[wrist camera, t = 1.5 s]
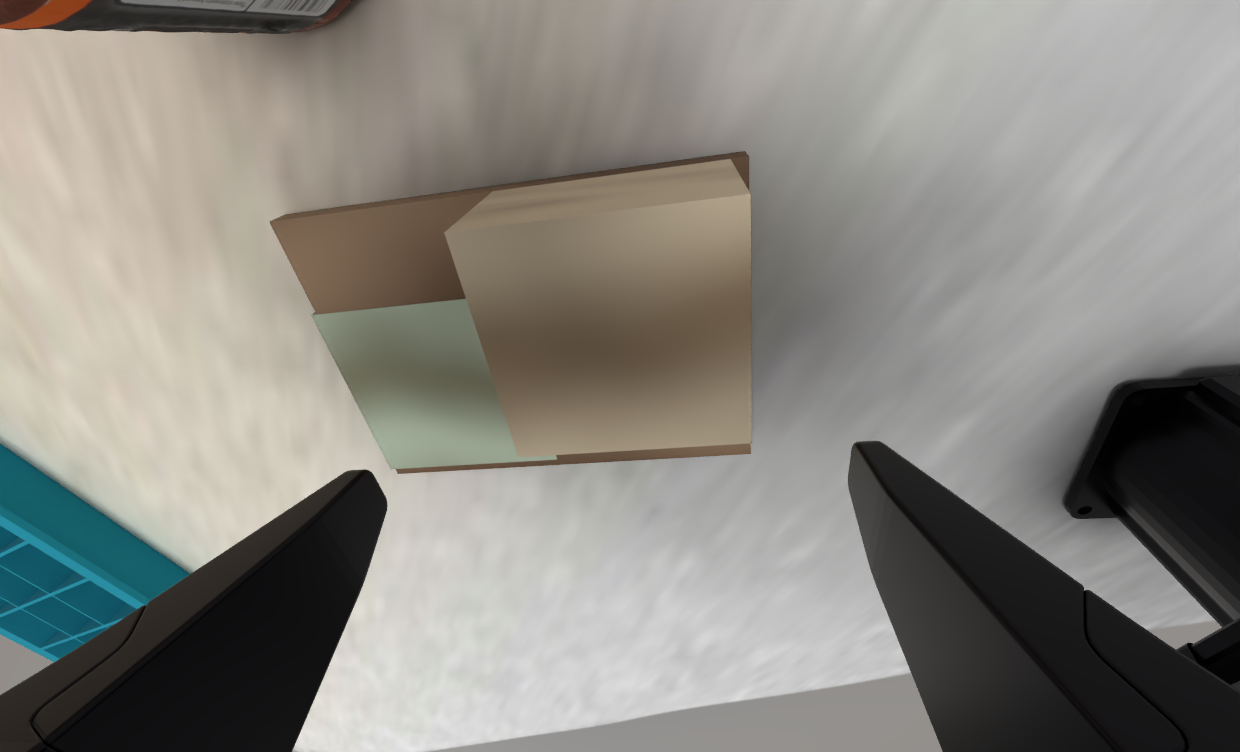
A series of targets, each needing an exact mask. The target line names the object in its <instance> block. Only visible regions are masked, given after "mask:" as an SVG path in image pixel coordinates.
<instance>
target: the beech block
mask: <svg viewBox="0 0 1240 752" xmlns="http://www.w3.org/2000/svg"><path fill="white" fill-rule="evenodd" d="M444 234H445V237H446V240H447V243H448V246H449V249H450V252H451V255H452V258H453V261H454V264H455V267H456V270H457V273H458V276H459V279H460V282H461V285H462V288H463V291H464V294H465V297H466V300H467V303H468V306H469V309H470V312H471V315H472V318H473V321H474V324H475V327H476V330H477V333H478V336H479V339H480V342H481V345H482V348H483V352H484V355H485V358H486V361H487V364H488V367H489V370H490V373H491V376H492V379H493V382H494V385H495V388H496V391H497V394H498V397H499V400H500V403H501V406H502V409H503V412H504V415H505V418H506V421H507V424H508V427H509V430H510V433H511V436H512V439H513V442H514V445H515V448H516V451H517V454H518V457H532V456H548V455H565V454H582V453H599V452H615V451H632V450H649V449H666V448H683V447H699V446H716V445H733V444H750V443H752V367H751V194H750V192H749V190H748V188H747V187H746V185H745V183H744V182H743V180H742V178H741V176H740V175H739V173H738V171H737V169H736V168H735V166H734V164H733V162H732V161H731V159H726V160H719V161H711V162H704V163H697V164H689V165H682V166H675V167H667V168H660V169H653V170H645V171H638V172H631V173H623V174H616V175H609V176H601V177H594V178H587V179H579V180H572V181H565V182H557V183H550V184H543V185H535V186H528V187H521V188H513V189H506V190H499V191H492V192H491V193H490V194H489V195H488V196H487V197H485V198H484V199H483V200H482V201H481V202H479V203H478V204H477V205H476V206H475V207H474V208H472V209H471V210H470V211H469V212H468V213H467V214H465V215H464V216H463V217H462V218H461V219H459V220H458V221H457V222H456V223H455V224H454V225H452V226H451V227H450V228H449V229H448V230H447V231H445V232H444Z"/></svg>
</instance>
